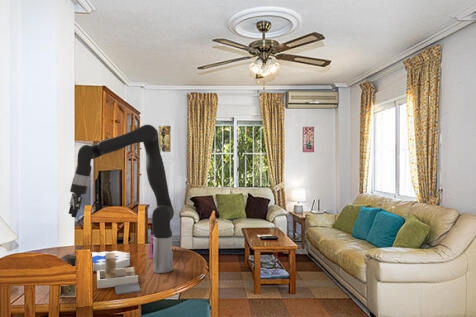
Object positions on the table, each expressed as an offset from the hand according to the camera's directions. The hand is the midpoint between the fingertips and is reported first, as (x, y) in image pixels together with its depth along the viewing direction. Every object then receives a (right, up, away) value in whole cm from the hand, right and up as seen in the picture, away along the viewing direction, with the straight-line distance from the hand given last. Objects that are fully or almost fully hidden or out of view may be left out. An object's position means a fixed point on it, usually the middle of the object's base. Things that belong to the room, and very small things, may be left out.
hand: (72, 215), depth 173 cm
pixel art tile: (+10, -29, +14) cm, 34 cm away
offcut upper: (+32, -26, -11) cm, 43 cm away
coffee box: (+16, -28, -31) cm, 44 cm away
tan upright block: (+24, -28, -14) cm, 40 cm away
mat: (+35, -28, -23) cm, 51 cm away
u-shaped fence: (+27, -28, -13) cm, 41 cm away
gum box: (+36, -30, +38) cm, 60 cm away
